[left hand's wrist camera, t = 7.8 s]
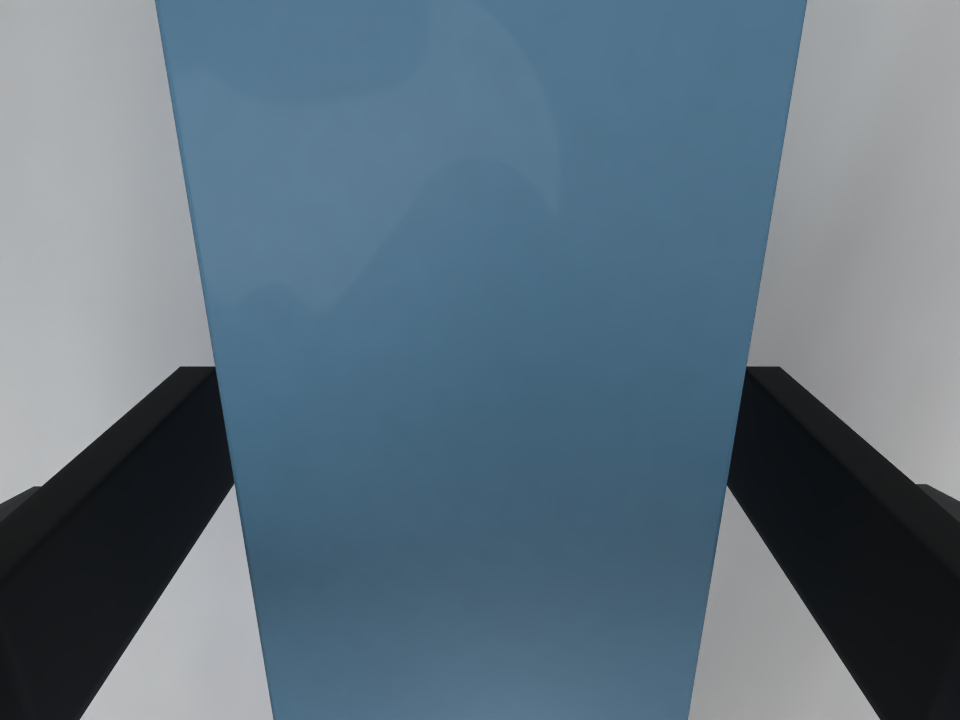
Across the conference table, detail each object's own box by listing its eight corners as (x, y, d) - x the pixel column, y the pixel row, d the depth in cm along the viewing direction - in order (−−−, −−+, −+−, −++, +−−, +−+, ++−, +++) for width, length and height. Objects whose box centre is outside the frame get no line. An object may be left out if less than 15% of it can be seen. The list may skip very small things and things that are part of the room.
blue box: (316, -187, 13) (31, -704, 5) (644, -187, 13) (930, -704, 5) (367, 484, 19) (280, 778, 10) (592, 484, 19) (681, 778, 10)
